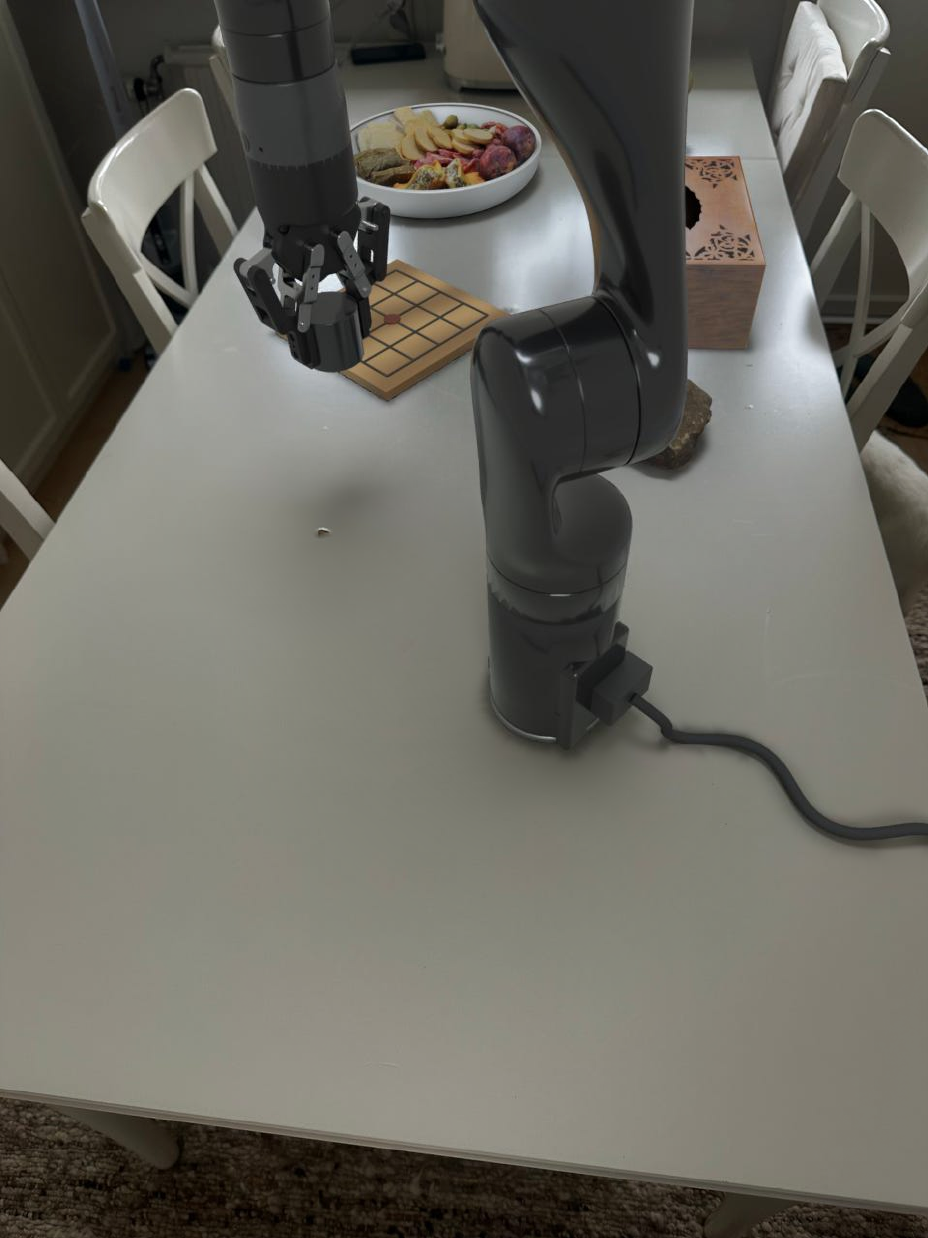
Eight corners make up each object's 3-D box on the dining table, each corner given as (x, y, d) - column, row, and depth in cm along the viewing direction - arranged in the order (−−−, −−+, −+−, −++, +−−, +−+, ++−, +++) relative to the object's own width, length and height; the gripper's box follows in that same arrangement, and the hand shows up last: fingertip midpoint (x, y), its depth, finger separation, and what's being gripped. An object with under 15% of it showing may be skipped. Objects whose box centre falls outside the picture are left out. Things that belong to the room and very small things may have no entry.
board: (511, 323, 102) (511, 313, 101) (387, 401, 94) (385, 390, 93) (398, 267, 112) (397, 257, 111) (275, 333, 103) (273, 323, 102)
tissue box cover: (612, 235, 115) (620, 156, 107) (723, 235, 113) (739, 155, 106) (616, 347, 98) (625, 263, 91) (745, 348, 97) (766, 264, 89)
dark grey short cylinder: (376, 353, 74) (369, 305, 70) (331, 380, 71) (322, 332, 68) (338, 331, 76) (330, 283, 72) (294, 356, 74) (283, 309, 70)
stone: (675, 488, 84) (691, 440, 79) (546, 436, 88) (555, 387, 83) (710, 434, 90) (727, 386, 85) (588, 388, 93) (598, 339, 89)
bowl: (312, 223, 120) (301, 165, 114) (365, 133, 139) (358, 78, 133) (525, 234, 116) (526, 173, 110) (551, 139, 134) (553, 83, 128)
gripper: (246, 190, 55) (296, 407, 68) (408, 116, 61) (425, 329, 75) (179, 157, 59) (240, 370, 72) (339, 91, 65) (367, 298, 78)
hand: (334, 348), depth 73 cm, fingers closed on dark grey short cylinder, 5 cm apart
